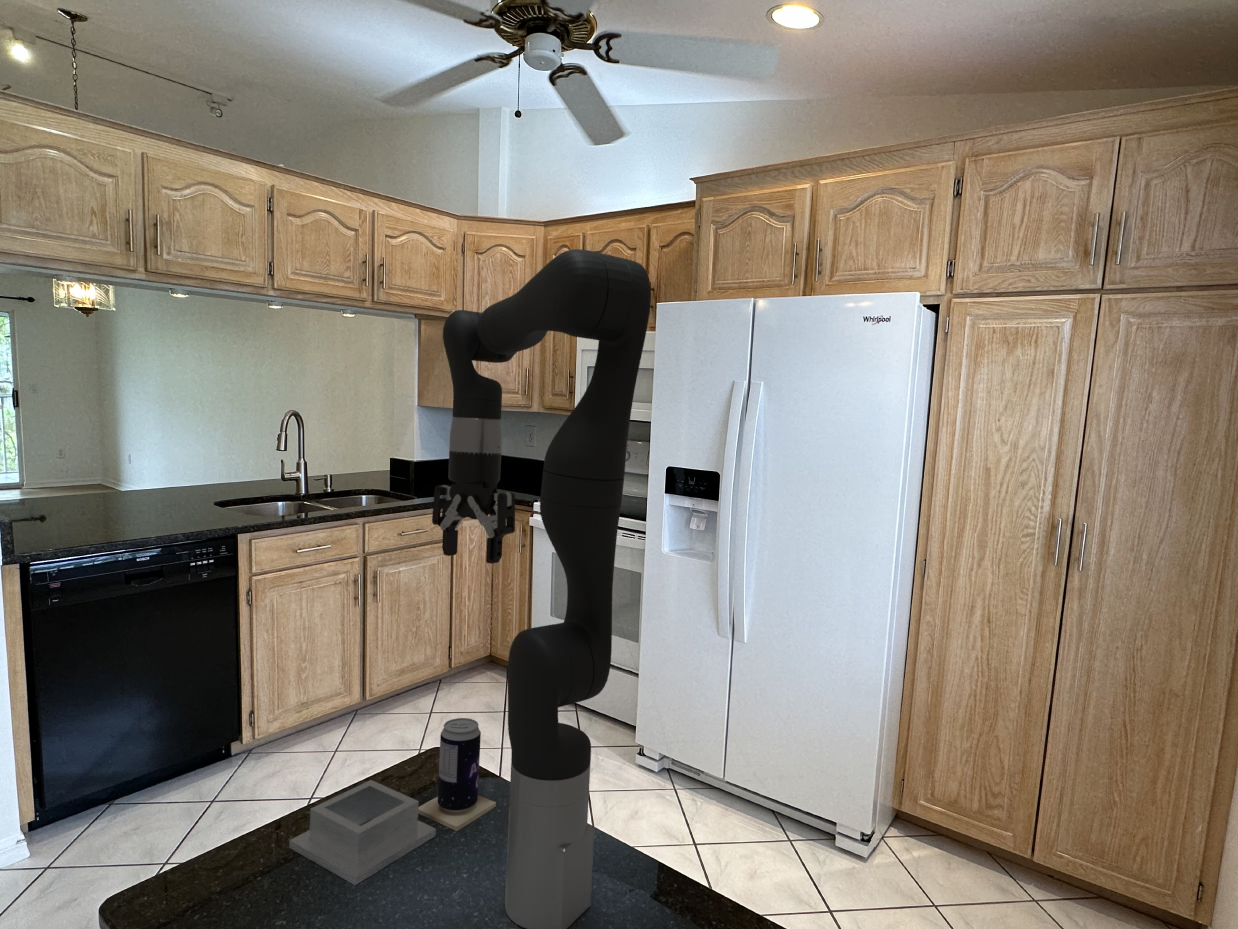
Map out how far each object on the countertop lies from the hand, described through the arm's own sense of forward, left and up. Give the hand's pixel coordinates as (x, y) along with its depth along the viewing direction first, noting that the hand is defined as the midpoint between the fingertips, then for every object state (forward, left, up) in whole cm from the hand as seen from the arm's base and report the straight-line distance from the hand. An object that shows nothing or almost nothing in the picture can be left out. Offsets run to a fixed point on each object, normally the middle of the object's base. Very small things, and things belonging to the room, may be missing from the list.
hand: (471, 558), depth 105 cm
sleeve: (+2, +16, -36) cm, 40 cm away
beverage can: (-2, +3, -36) cm, 36 cm away
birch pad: (-2, +3, -36) cm, 36 cm away
